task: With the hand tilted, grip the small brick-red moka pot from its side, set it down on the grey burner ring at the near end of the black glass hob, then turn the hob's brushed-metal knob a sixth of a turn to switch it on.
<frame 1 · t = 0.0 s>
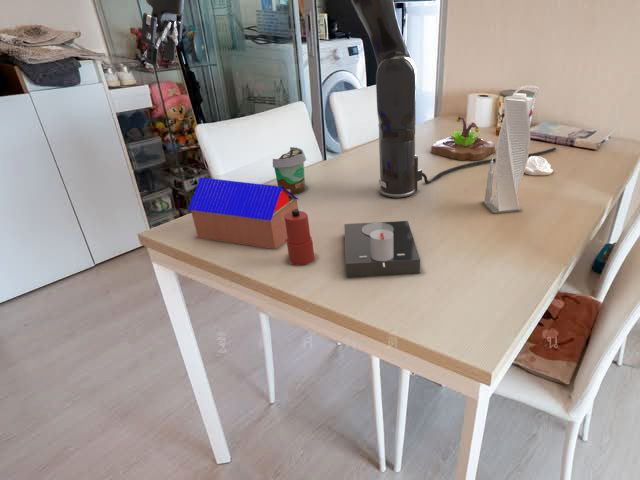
hand: (160, 61, 110), 31 cm above the table, tool tilted 20°, fingers open, 8 cm apart
hob: (379, 253, 95), on the table
skyscraper: (504, 208, 115), on the table
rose: (535, 171, 139), on the table
house: (250, 233, 104), on the table
food container: (297, 190, 126), on the table
plant: (462, 152, 157), on the table
moka pot: (302, 259, 93), on the table
burner: (378, 242, 99), resting on hob
hob knob: (381, 244, 86), point 5 cm above the table, hinge at 0.0°
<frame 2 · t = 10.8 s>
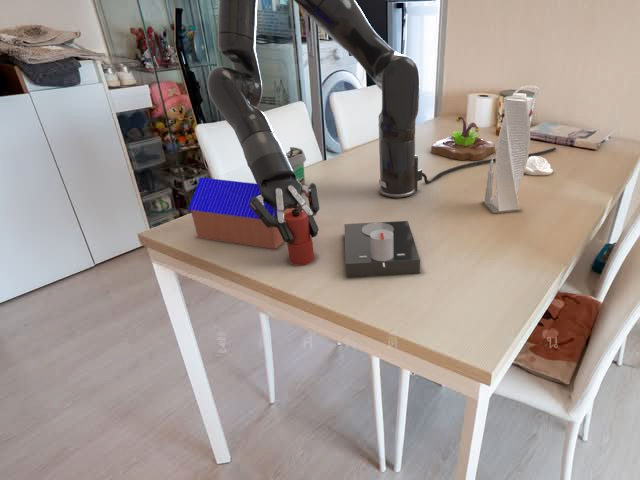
hand: (303, 238, 89), 5 cm above the table, tool tilted 45°, fingers closed on moka pot, 4 cm apart
moka pot: (302, 259, 93), on the table, touching gripper
everything else where it was.
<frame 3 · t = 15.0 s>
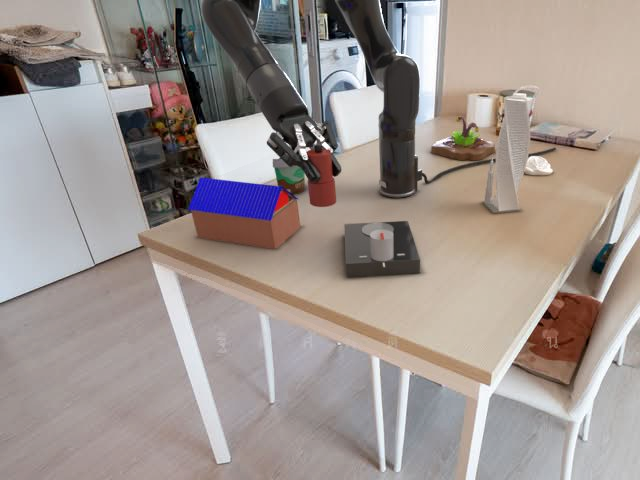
hand: (327, 177, 84), 17 cm above the table, tool tilted 45°, fingers closed on moka pot, 4 cm apart
moka pot: (323, 202, 88), point 12 cm above the table, touching gripper
everything else where it was.
when the fingers open (9 cm above the table, at t = 19.4 s): moka pot stays where it is, resting on burner.
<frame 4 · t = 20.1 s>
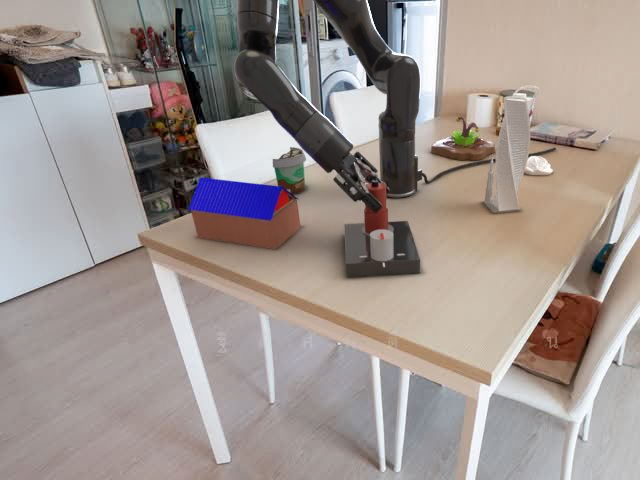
hand: (383, 201, 94), 9 cm above the table, tool tilted 45°, fingers open, 8 cm apart
moka pot: (376, 229, 97), point 3 cm above the table, touching burner
everything else where it was.
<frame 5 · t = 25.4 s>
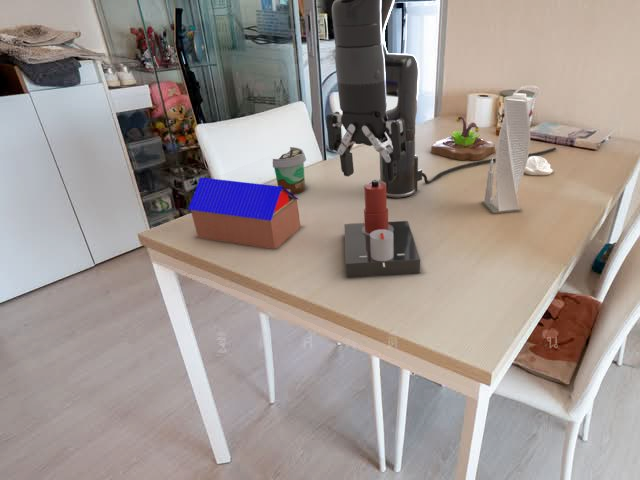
hand: (369, 178, 80), 18 cm above the table, tool pointing down, fingers open, 8 cm apart
nothing on the table moved.
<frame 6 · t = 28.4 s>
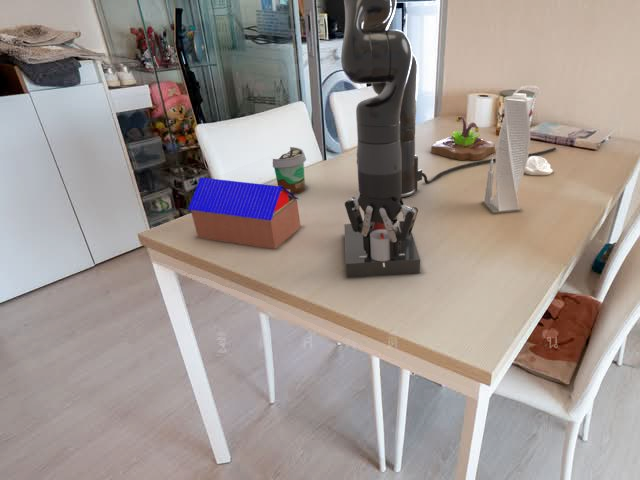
hand: (382, 254, 87), 3 cm above the table, tool pointing down, fingers closed on hob knob, 4 cm apart
hob knob: (381, 244, 86), point 5 cm above the table, hinge at 0.1°, touching gripper
everything else where it was.
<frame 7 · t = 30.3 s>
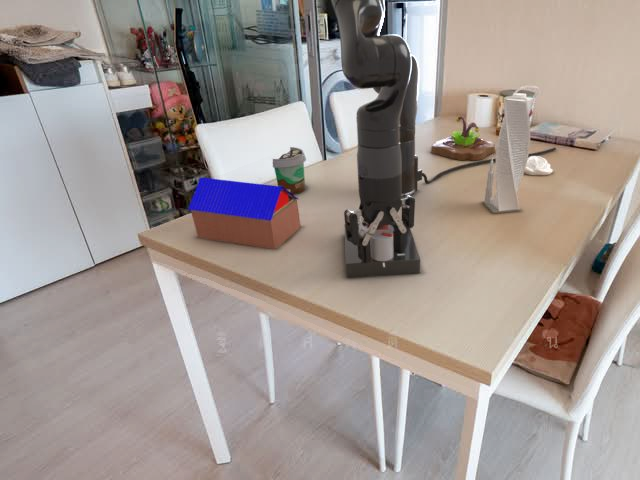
hand: (381, 255, 87), 3 cm above the table, tool pointing down, fingers open, 7 cm apart
hob knob: (381, 244, 86), point 5 cm above the table, hinge at 62.1°
everything else where it was.
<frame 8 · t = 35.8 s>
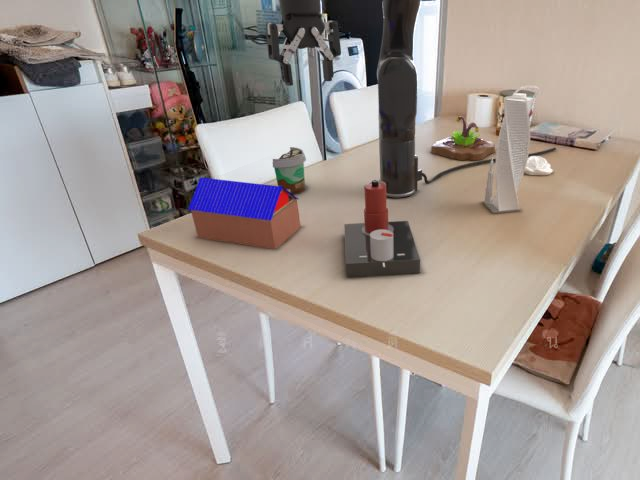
hand: (308, 83, 91), 30 cm above the table, tool pointing down, fingers open, 8 cm apart
nothing on the table moved.
at the end: moka pot 0.2 cm from the target spot on the hob, point 3.2 cm above the hob's base; moka pot tilted 0°; hob knob at +62° (first picture: +0°) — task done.
